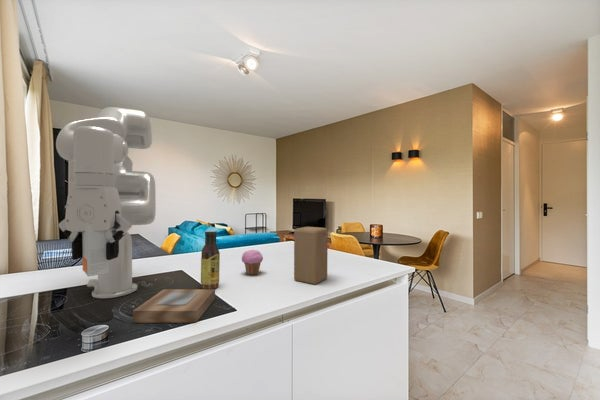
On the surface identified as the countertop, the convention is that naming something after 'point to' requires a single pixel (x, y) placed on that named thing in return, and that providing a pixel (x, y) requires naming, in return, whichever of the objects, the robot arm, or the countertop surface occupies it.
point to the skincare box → (94, 252)
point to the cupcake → (252, 261)
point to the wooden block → (310, 254)
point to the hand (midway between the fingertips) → (95, 257)
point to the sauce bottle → (210, 262)
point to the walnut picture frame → (175, 306)
